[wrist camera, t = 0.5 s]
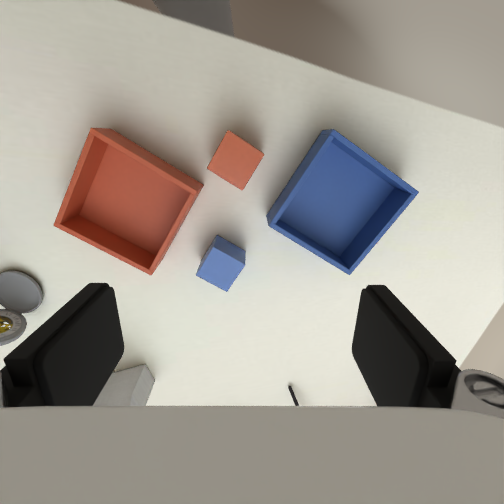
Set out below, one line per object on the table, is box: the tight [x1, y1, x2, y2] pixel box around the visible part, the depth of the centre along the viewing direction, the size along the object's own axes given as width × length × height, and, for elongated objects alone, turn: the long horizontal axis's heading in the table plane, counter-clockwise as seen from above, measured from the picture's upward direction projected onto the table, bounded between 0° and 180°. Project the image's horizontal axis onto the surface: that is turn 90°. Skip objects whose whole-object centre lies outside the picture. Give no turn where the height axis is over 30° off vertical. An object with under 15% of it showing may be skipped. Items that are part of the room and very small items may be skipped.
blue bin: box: [266, 129, 419, 275], centre depth 34 cm, size 12×12×5 cm
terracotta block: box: [207, 130, 264, 190], centre depth 32 cm, size 4×4×4 cm
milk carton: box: [93, 364, 155, 406], centre depth 43 cm, size 4×7×10 cm, turn 108°
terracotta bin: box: [54, 128, 203, 275], centre depth 34 cm, size 12×12×5 cm
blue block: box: [196, 235, 245, 292], centre depth 37 cm, size 4×4×4 cm
